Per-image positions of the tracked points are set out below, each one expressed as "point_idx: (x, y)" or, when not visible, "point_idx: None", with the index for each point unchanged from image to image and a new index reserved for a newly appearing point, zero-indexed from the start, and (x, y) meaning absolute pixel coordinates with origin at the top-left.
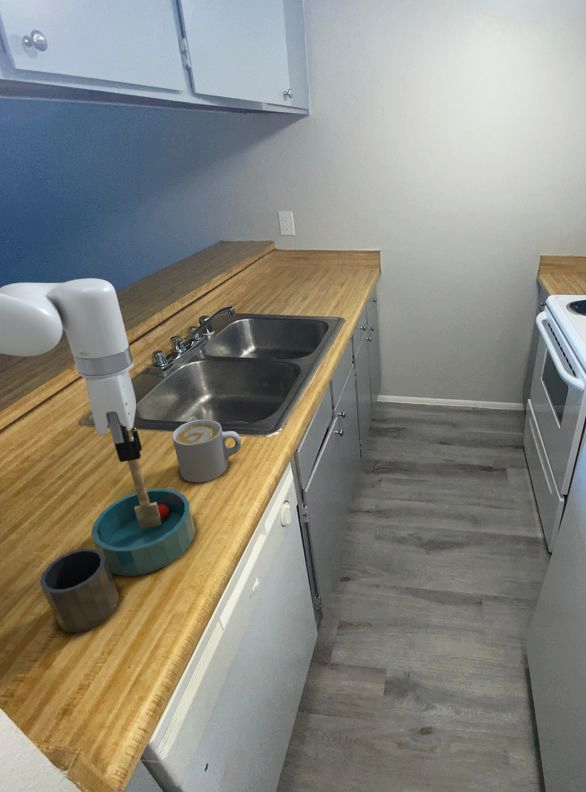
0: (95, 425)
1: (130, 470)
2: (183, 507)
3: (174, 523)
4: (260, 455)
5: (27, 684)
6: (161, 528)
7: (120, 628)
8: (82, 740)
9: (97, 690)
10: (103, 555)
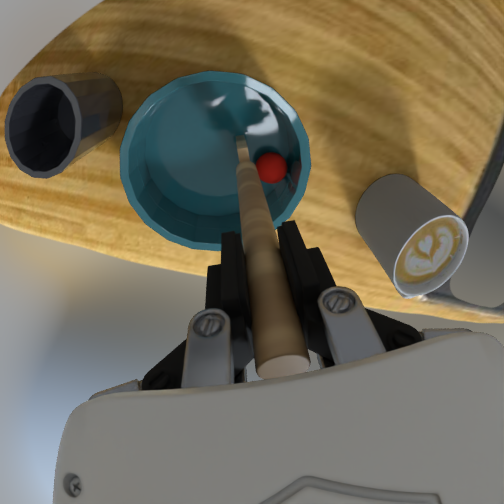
0: (54, 480)
1: (245, 213)
2: None
3: None
4: (384, 284)
5: (10, 100)
6: None
7: None
8: None
9: (9, 176)
10: (65, 166)
